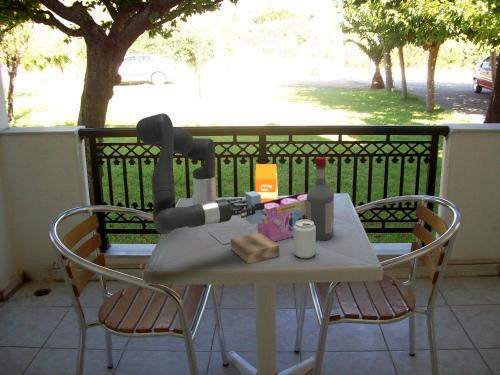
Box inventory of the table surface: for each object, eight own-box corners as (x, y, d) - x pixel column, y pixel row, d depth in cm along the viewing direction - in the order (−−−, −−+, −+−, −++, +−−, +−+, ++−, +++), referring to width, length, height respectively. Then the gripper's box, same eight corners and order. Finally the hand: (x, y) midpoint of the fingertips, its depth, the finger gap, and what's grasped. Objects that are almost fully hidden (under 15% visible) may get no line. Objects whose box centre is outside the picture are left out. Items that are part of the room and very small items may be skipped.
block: (252, 224, 176) (251, 196, 173) (246, 220, 180) (245, 192, 177) (261, 222, 177) (260, 194, 174) (255, 218, 182) (254, 191, 179)
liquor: (334, 232, 198) (335, 155, 189) (330, 241, 189) (331, 161, 181) (310, 230, 200) (310, 154, 192) (305, 239, 192) (305, 160, 183)
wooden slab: (248, 263, 174) (247, 252, 172) (231, 249, 186) (230, 238, 184) (279, 256, 179) (279, 245, 177) (260, 242, 191) (260, 232, 189)
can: (301, 261, 174) (301, 227, 171) (289, 253, 181) (289, 220, 177) (319, 256, 177) (320, 223, 174) (307, 248, 184) (307, 216, 180)
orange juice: (258, 205, 231) (257, 162, 225) (278, 205, 230) (277, 162, 224) (256, 211, 224) (254, 166, 218) (276, 211, 222) (275, 166, 216)
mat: (222, 244, 190) (222, 244, 189) (208, 232, 202) (208, 232, 202) (256, 237, 195) (256, 236, 195) (241, 225, 207) (241, 225, 207)
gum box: (307, 223, 208) (307, 191, 204) (320, 229, 201) (320, 196, 197) (257, 237, 196) (256, 203, 192) (268, 244, 189) (268, 208, 185)
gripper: (222, 207, 164) (269, 198, 171) (205, 195, 176) (250, 187, 183) (223, 229, 166) (270, 220, 173) (207, 216, 178) (251, 207, 185)
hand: (260, 203), depth 178 cm, fingers closed on block, 5 cm apart
